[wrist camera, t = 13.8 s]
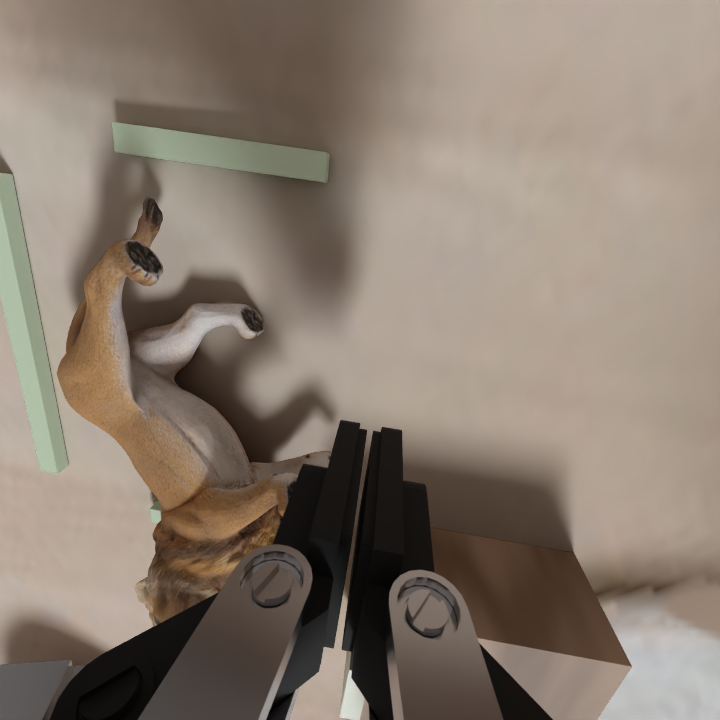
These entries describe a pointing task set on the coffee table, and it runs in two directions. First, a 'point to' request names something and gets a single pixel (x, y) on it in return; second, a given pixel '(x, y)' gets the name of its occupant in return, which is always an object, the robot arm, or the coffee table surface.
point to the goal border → (14, 278)
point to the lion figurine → (173, 428)
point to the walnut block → (529, 623)
